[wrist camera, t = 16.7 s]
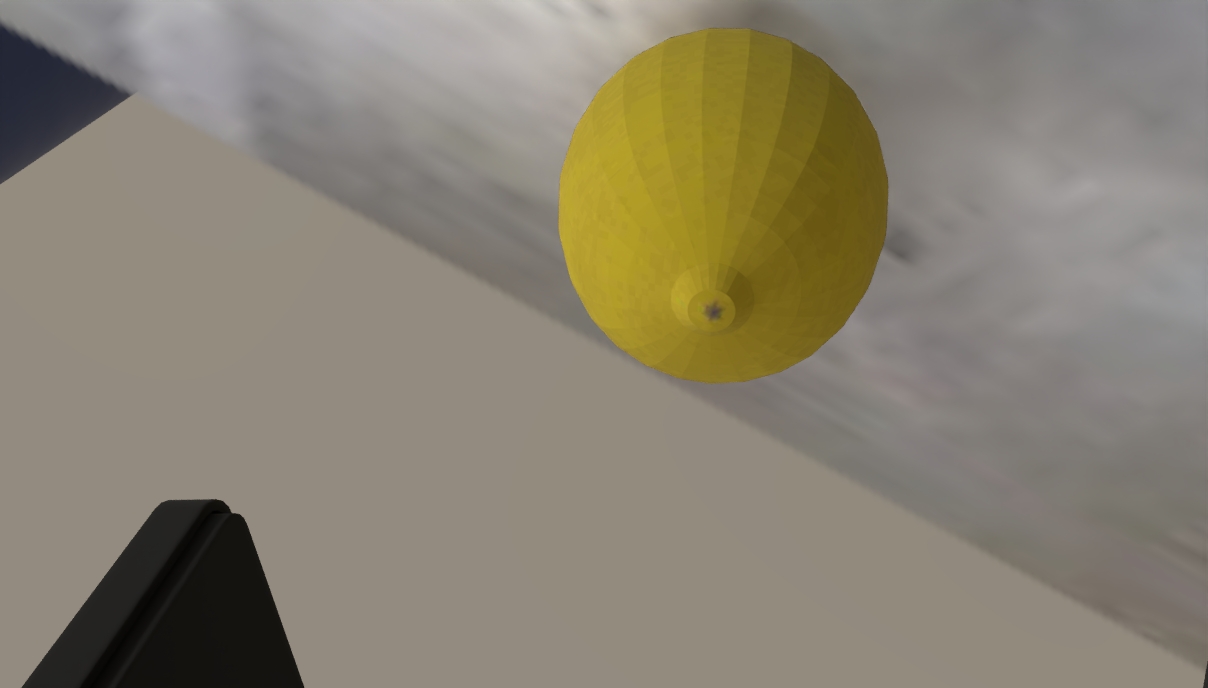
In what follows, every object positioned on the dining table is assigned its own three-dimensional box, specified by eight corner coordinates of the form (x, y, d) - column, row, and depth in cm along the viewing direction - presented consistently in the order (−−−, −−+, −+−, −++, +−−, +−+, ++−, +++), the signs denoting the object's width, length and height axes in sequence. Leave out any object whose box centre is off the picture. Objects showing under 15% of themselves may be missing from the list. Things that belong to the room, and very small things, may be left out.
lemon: (837, 264, 25) (863, 497, 18) (579, 224, 25) (505, 438, 18) (900, 2, 22) (959, 159, 15) (608, -40, 22) (534, 96, 15)
